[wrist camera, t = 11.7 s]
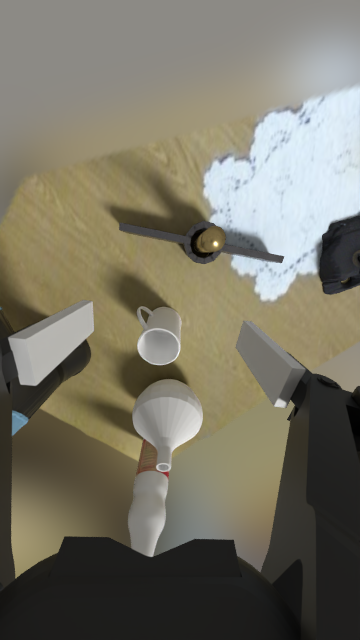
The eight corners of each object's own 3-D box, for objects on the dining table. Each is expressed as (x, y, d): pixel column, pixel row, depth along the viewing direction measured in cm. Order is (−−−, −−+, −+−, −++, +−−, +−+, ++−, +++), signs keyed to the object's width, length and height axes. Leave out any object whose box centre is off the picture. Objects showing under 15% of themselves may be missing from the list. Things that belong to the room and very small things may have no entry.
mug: (133, 306, 40) (115, 326, 29) (162, 288, 39) (155, 302, 28) (159, 342, 44) (152, 372, 33) (187, 328, 43) (189, 354, 31)
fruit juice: (156, 423, 56) (135, 571, 30) (176, 436, 58) (172, 584, 32) (138, 436, 58) (104, 583, 32) (158, 448, 61) (141, 594, 35)
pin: (192, 250, 36) (199, 249, 22) (195, 235, 35) (205, 223, 21) (205, 253, 36) (221, 253, 22) (209, 238, 35) (228, 228, 21)
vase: (132, 372, 48) (104, 442, 30) (195, 364, 47) (203, 431, 29) (147, 416, 55) (131, 495, 37) (202, 410, 54) (213, 488, 36)
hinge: (126, 248, 36) (118, 247, 31) (128, 210, 33) (120, 203, 28) (263, 275, 38) (275, 278, 33) (276, 241, 35) (290, 239, 30)
